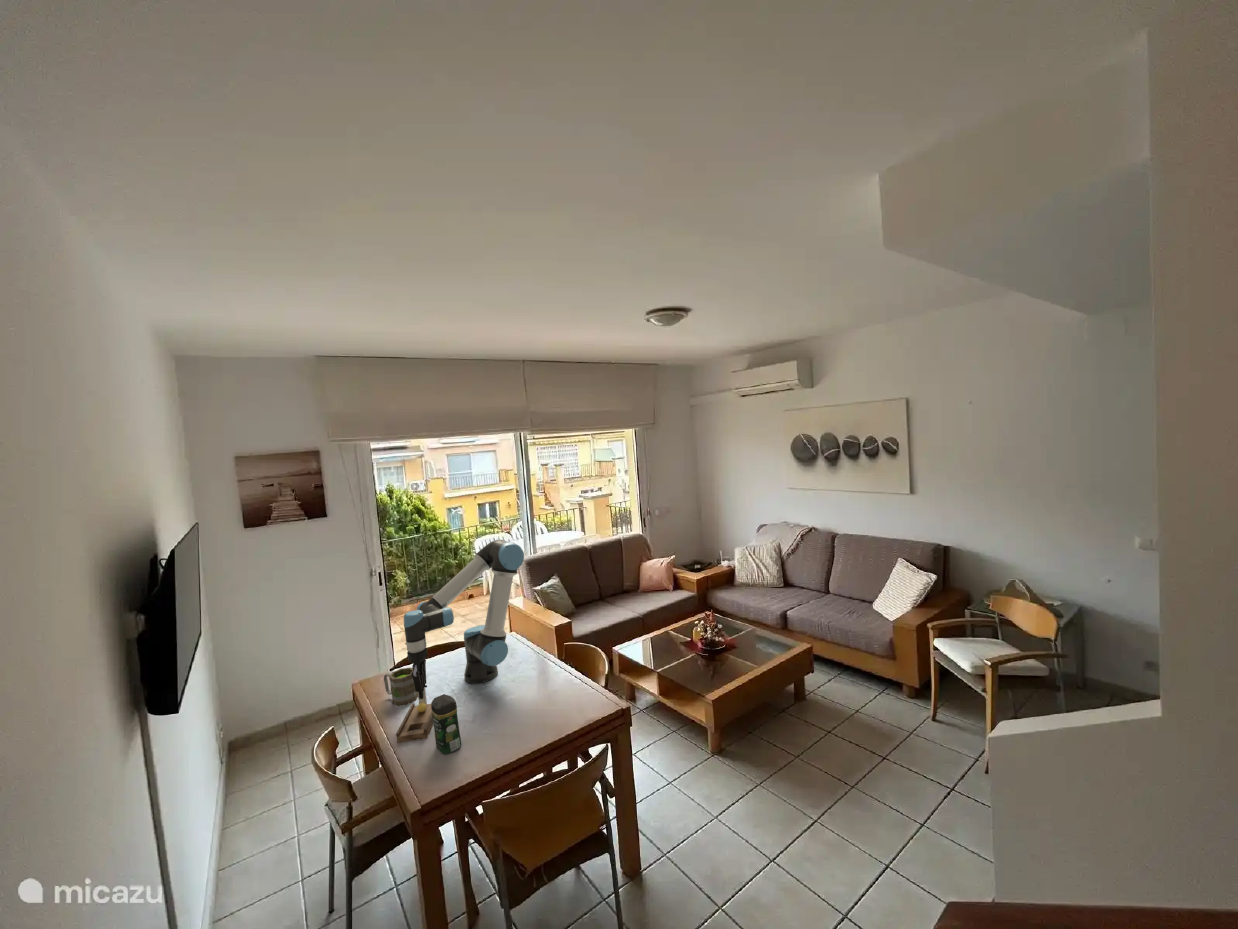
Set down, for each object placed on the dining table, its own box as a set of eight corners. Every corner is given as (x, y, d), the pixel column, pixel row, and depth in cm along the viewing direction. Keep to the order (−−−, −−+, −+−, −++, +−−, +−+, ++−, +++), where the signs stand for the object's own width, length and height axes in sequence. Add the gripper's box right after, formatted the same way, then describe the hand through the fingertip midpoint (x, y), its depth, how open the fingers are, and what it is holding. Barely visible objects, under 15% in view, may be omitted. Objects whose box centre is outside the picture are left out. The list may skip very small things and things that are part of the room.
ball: (427, 709, 214) (426, 700, 214) (425, 713, 211) (424, 705, 211) (418, 710, 214) (417, 701, 214) (416, 715, 211) (415, 706, 210)
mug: (424, 694, 232) (420, 668, 232) (406, 707, 222) (403, 680, 221) (395, 691, 238) (392, 665, 237) (377, 704, 227) (374, 677, 227)
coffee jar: (433, 747, 192) (427, 698, 190) (453, 737, 197) (448, 689, 195) (443, 758, 184) (437, 707, 183) (464, 748, 189) (458, 698, 188)
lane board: (440, 708, 219) (439, 699, 219) (427, 738, 197) (426, 729, 197) (413, 711, 218) (412, 703, 218) (397, 743, 196) (395, 734, 196)
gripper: (411, 644, 220) (418, 698, 222) (402, 657, 207) (409, 714, 209) (430, 641, 221) (436, 695, 222) (422, 654, 208) (428, 712, 209)
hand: (423, 704), depth 215 cm, fingers closed
